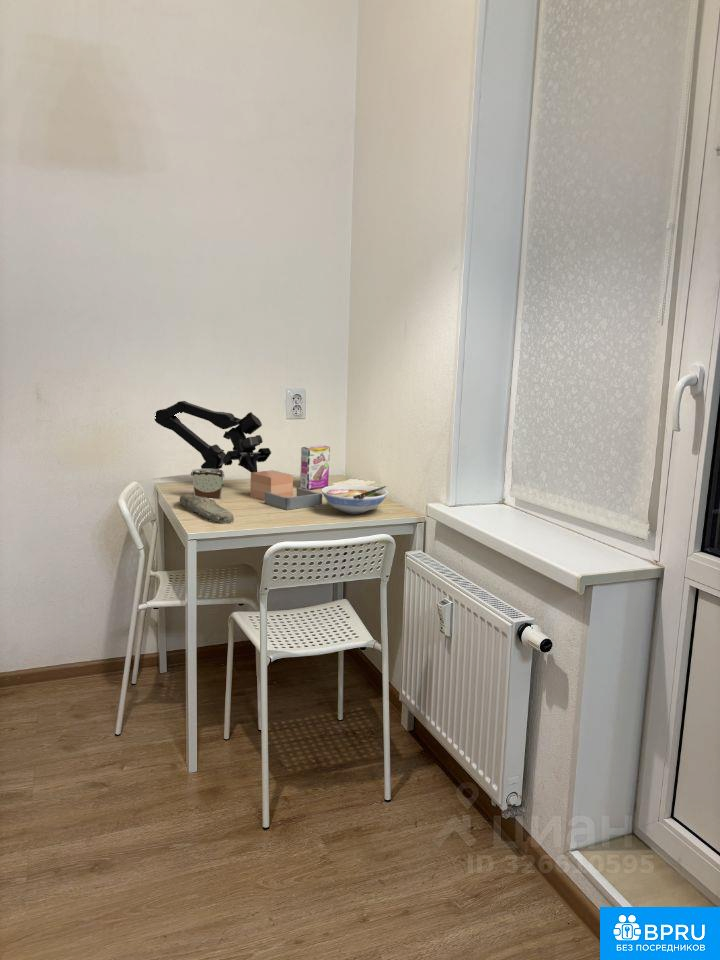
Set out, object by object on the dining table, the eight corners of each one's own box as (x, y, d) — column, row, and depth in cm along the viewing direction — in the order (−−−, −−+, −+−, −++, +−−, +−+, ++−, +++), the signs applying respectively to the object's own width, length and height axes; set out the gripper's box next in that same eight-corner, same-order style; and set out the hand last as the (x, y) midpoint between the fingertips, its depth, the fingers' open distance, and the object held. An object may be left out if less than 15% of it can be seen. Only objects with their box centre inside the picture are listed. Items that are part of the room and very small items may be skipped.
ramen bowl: (340, 501, 282) (341, 479, 281) (398, 509, 272) (399, 486, 271) (306, 514, 260) (307, 490, 258) (368, 523, 250) (369, 498, 249)
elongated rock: (211, 530, 241) (241, 528, 246) (213, 513, 240) (242, 512, 245) (172, 502, 269) (199, 501, 274) (172, 487, 268) (200, 487, 273)
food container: (228, 496, 284) (228, 469, 282) (224, 499, 278) (224, 472, 276) (195, 494, 285) (195, 467, 283) (190, 497, 279) (190, 470, 277)
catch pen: (264, 503, 274) (264, 492, 274) (299, 498, 285) (299, 487, 284) (287, 510, 265) (287, 498, 264) (322, 504, 275) (322, 493, 274)
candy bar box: (308, 490, 299) (309, 448, 296) (299, 488, 303) (300, 446, 300) (329, 487, 307) (330, 446, 304) (320, 485, 311) (321, 444, 308)
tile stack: (250, 496, 285) (250, 472, 283) (272, 493, 292) (272, 470, 290) (270, 502, 276) (271, 477, 275) (292, 499, 283) (293, 474, 282)
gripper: (227, 429, 285) (243, 463, 279) (268, 426, 297) (285, 459, 291) (215, 448, 292) (231, 481, 286) (256, 444, 304) (273, 476, 298)
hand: (256, 474), depth 290 cm, fingers closed
